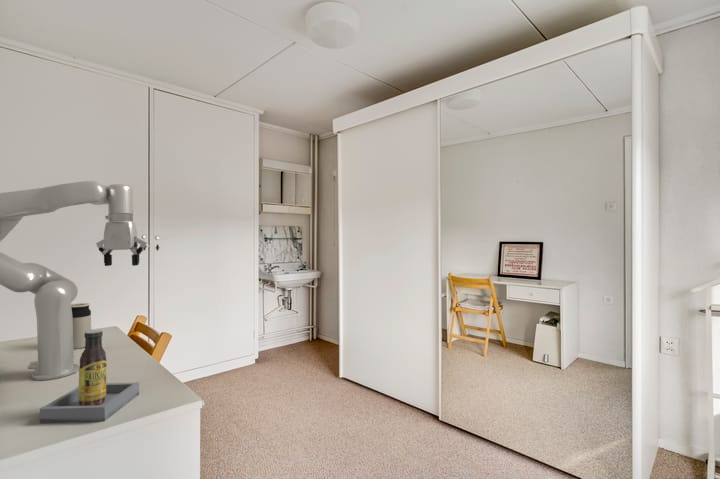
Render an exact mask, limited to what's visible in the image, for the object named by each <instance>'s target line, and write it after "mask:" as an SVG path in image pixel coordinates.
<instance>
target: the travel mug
mask: <svg viewBox="0 0 720 479" xmlns="http://www.w3.org/2000/svg"><path fill="white" fill-rule="evenodd" d="M90 305H91V304H90V303H88V302H80V303H73V304H72V303H71V308H72V317H73V350H79V349H78V348H80V349H85V348H84V347H85V340H86V339H85V337H84V336H85V332H87V331H92V310H91V309H90Z"/></svg>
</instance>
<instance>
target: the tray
mask: <svg viewBox="0 0 720 479" xmlns="http://www.w3.org/2000/svg"><path fill="white" fill-rule="evenodd" d="M78 394H79V386H78V387H76V388H74V389H72V390H70V391H69V392H67V393H65V394H64V395H62V396H60V397H58V398H57V399H56V398H55V399H54V400H53V401H51V402H49V403H48V404H46V405H44V406H42V407H41V408H39V423H40V424H43V423H44V424H45V423H46V424H48V423H78V422H84V423H86V422H105V421H107V420H108V419H109V418H111V417H112V416H113V415H115V413H117V412H119V411H120V410H121V409H122V408H123V407H125V406H127V404H129V403H130V402H132V400H134V399H135V398H136V397H137V396H139V395H140V382H138V381H137V382H106V396H105V401H104V402H103V403H101V404H99V405H94V406H79V400H78Z"/></svg>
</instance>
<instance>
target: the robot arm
mask: <svg viewBox="0 0 720 479" xmlns="http://www.w3.org/2000/svg"><path fill="white" fill-rule="evenodd" d="M133 196H134V195H133V188H132V186H131V185H127V184H122V183H118V184H117V183H114V184H110V185H104V184H101V183H99V182H98V181H94V180H85V181H77V182H76V181H75V182H68V183H67V182H66V183H62V184H57V185H51V186H44V187H38V188H31V189H22V190H16V191H15V190H13V191H7V192H0V243H1V242H2V241H3V240H4V239H5V238H6V237H7V236H8V235H9V234H10V233H11V231H13V229H14V228H15V227H16V226H17V225H18V224H19V223H20V221H22V219H23V218H24V217H29V216H30V217H31V216H34V215H35V216H36V215H42V214H49V213H53V212H55V211H57V210H59V209H62V208H66V207H67V208H68V207H72V206H77V205H78V206H79V205H85V204H91V205H93V206H94V205H96V206H100V205H101V206H102V205H108V206H107V207H108V214H107V215H105V219H106V220H108V221H107V222H105V226H104V231H103V239H100V240H99V241H97V242H96V244H95V245H96V247H97V248H98V251H99V252H100V253H101V255H103V263H104V266H105V267H109V266H112V265H113V259H112V258H113V255H112V252H113V251H117V250H118V251H119V250H123V251H125V250H126V251H127V250H130V252H131V253H132V254H131V265H132V266H133V267H134V266H139V264H140V254H142V252H143V251H144V250H145V248H146V246H147V242H146V241H144V240H142V239H140V238H138V231H137V230H138V229H137V225H136V223H135V222H134V209H133V208H134V207H133V206H134V205H133V204H134V203H133V202H134V201H133V200H134V199H133ZM138 246H139V247H138ZM0 286H1V287H2V286H3V287H4V288H6V289H8V290H9V291H12V292H14V293H27V292H30V293H31V294H34V299H33V300H34V302H33V303H34V310H35V313H36V316H35V317H36V328H37V329H36V332H37V360H36V361H30V362H29V364H28V365H27V367H26V368H27V370H34V372H33V373H32V374H31V377H32V379H33V380H36V381H47V380H48V381H49V380H54V379H59V378H63V377H67V376H70V375H72V374H75V373H76V372H79V367H80V364H77V363H74V362H75V360H74V359H75V358H74V349H73V317H72V308H71V305H72V302H73V301H74V300H75V299H76V298H77V297H78V294H79V293H78V292H79V291H78V287H77V285H76V284H75V282H74V281H72V280H70V279H69V278H67V277H65V276H63V275H61V274H59V273H57V272H56V271H55V270H54V271H53V270H51V269H50V268H48V267H45V266H44V265H41V264H39V263H35V262H21V261H19V260H16V259H14V258H13V257H11V256H9V255H7V254H5V253H3V252H1V251H0Z"/></svg>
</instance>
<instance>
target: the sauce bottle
mask: <svg viewBox="0 0 720 479" xmlns="http://www.w3.org/2000/svg"><path fill="white" fill-rule="evenodd" d="M84 337H85V339H86V340H85V348H84V350H83V351H82V353H81V356H80V357H79V358H80V359H79V370H78V387H79V394H78V400H79V406H94V405H99V404H101V403H103V402H104V401H105V396H106V383H107V363H108V362H107V354H106V350H105V349H104V348H103V343H102V341H103V340H102V339H103V330H102V329H95V330H94V329H93V330H92V329H91V331H87V332H85V336H84Z"/></svg>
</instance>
